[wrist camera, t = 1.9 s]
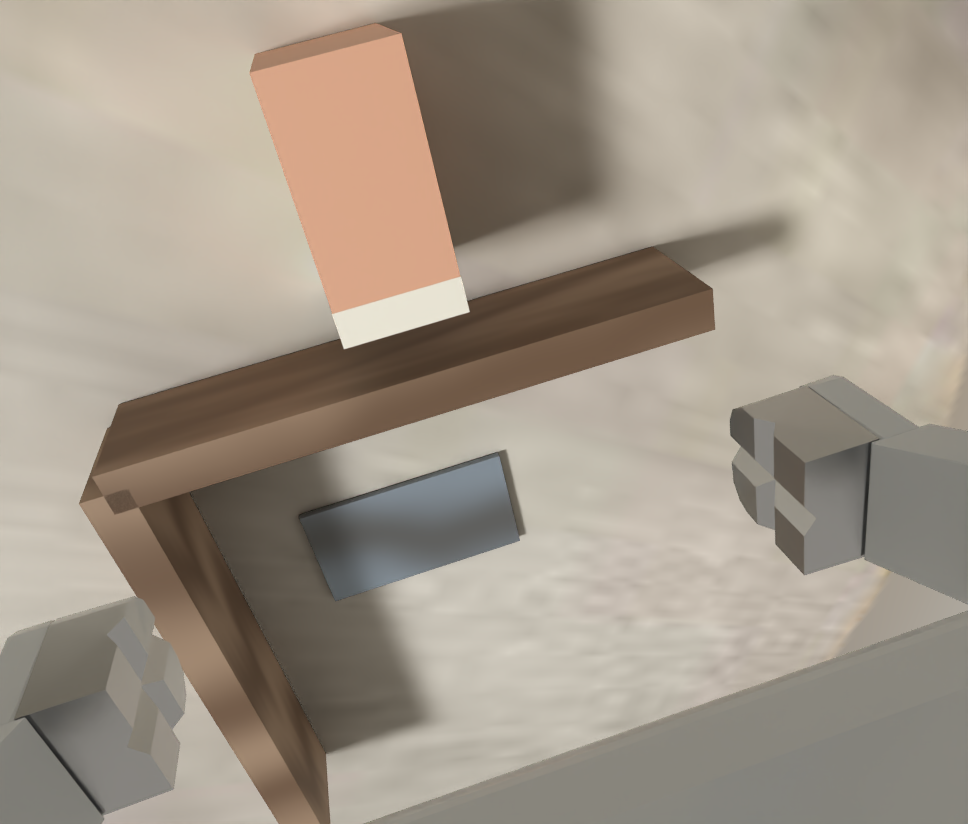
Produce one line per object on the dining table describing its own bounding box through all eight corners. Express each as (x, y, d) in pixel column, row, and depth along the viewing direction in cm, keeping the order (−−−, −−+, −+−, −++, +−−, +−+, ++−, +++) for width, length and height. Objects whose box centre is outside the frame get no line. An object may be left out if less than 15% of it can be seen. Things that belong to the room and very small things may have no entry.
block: (254, 54, 25) (248, 73, 19) (376, 22, 25) (402, 33, 20) (331, 283, 29) (343, 349, 24) (435, 253, 29) (469, 311, 24)
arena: (97, 410, 29) (67, 484, 25) (652, 246, 31) (712, 288, 27) (296, 763, 41) (298, 855, 36) (690, 627, 43) (736, 698, 38)
